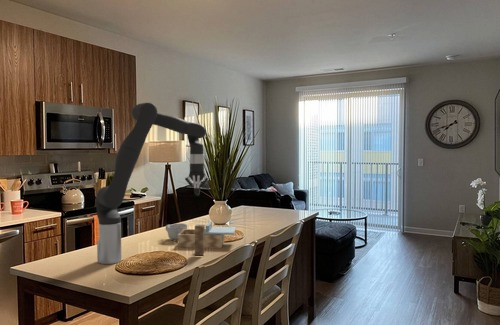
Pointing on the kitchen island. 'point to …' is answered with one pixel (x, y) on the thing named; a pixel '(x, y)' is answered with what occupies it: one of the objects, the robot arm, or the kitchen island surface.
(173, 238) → the teacup
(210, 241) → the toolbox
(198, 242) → the brown rectangular block
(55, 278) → the kitchen island surface
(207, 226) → the lid
